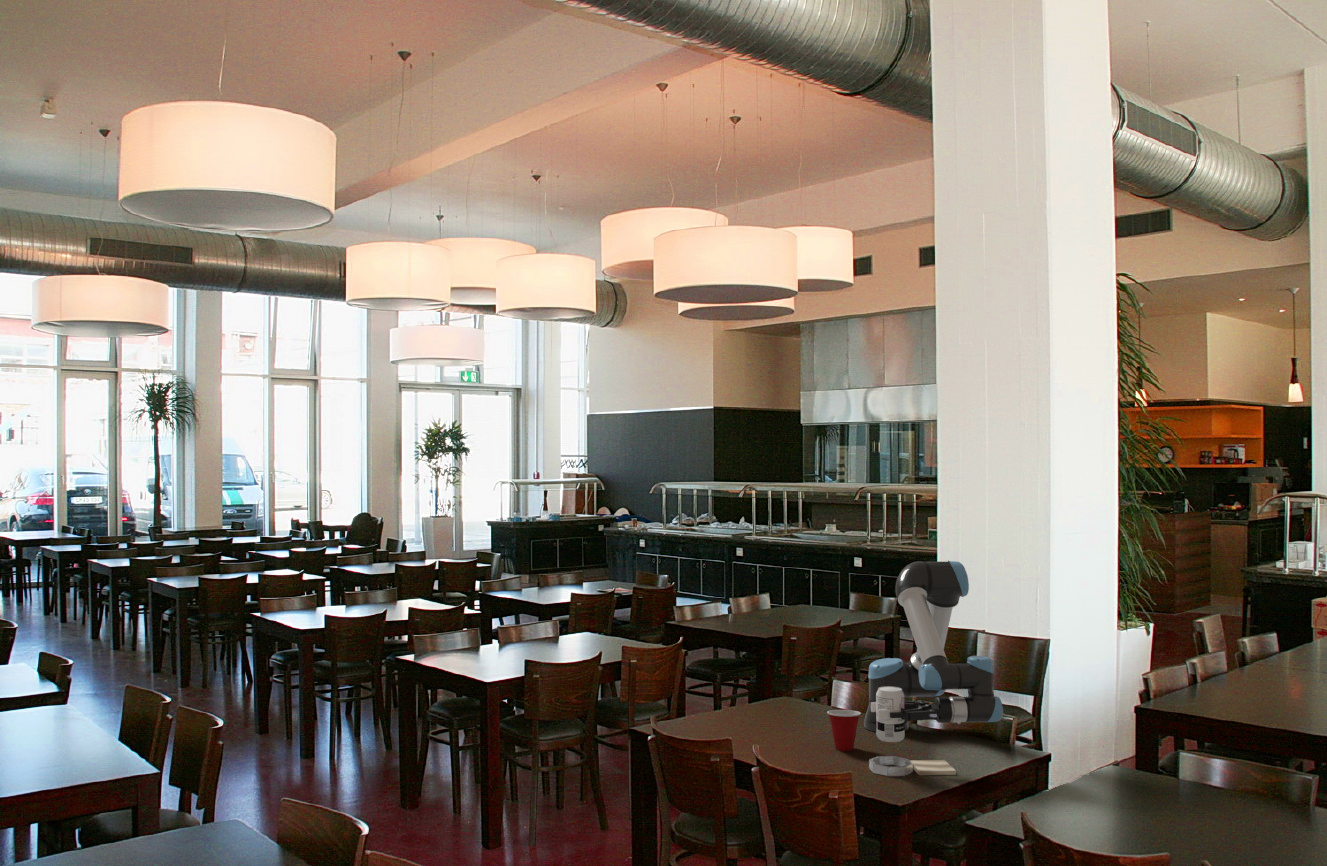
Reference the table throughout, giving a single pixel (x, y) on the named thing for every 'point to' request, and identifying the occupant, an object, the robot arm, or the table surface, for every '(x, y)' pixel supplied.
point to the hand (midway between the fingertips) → (874, 710)
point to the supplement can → (889, 727)
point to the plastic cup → (844, 728)
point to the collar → (878, 767)
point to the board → (932, 767)
